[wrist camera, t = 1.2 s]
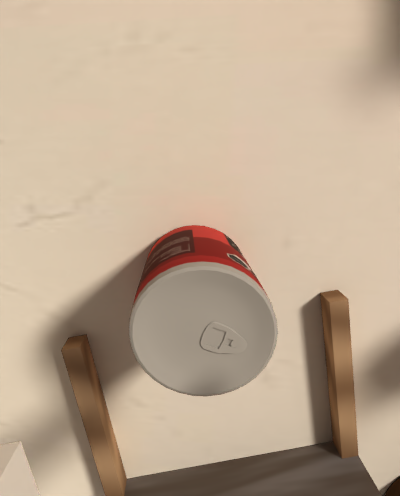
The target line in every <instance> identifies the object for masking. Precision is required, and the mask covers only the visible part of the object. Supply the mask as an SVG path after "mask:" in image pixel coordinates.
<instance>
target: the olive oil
mask: <svg viewBox="0 0 400 496" xmlns="http://www.w3.org/2000/svg"><path fill="white" fill-rule="evenodd" d="M385 496H400V478H399V479H398V480H396V481H395V482H394V483H393V484H392V485H391V486H390V488H389V489H388V490H387V492H386V494H385Z"/></svg>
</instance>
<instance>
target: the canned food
mask: <svg viewBox="0 0 400 496" xmlns="http://www.w3.org/2000/svg"><path fill="white" fill-rule="evenodd" d="M277 334H278V331H277V320H276V317H275V313H274V310H273V307H272V304H271V302H270V300H269V298H268V296H267V294H266V292H265V291H264V289H263V287H262V285H261V284H260V282H259V281H258V279H257V277H256V276H255V274H254V273H253V271H252V269H251V268H250V266H249V264H248V263H247V261H246V260H245V258H244V256H243V255H242V253H241V252H240V250H239V248H238V247H237V246H236V244H235V243H234V242H233V241H232V240H231V239H230V238H229V237H227V236H226V235H225V234H223V233H222V232H220V231H217V230H215V229H213V228H209V227H206V226H197V225H192V226H184V227H180V228H177V229H174V230H172V231H170V232H168V233H167V234H165V235H164V236H163V237H161V238H160V239H159V240H158V241H157V242H156V244H155V245H154V246H153V247H152V249H151V251H150V253H149V255H148V258H147V261H146V264H145V268H144V271H143V274H142V277H141V280H140V283H139V286H138V290H137V293H136V296H135V299H134V303H133V307H132V311H131V315H130V325H129V337H130V342H131V347H132V350H133V353H134V355H135V357H136V359H137V361H138V363H139V364H140V365H141V367H142V368H143V369H144V371H145V372H146V373H147V374H148V375H149V376H150V377H152V378H153V379H154V380H155V381H156V382H158V383H160V384H161V385H163V386H164V387H166V388H169V389H171V390H173V391H176V392H178V393H183V394H187V395H192V396H213V395H220V394H224V393H227V392H231V391H234V390H236V389H238V388H240V387H242V386H244V385H246V384H247V383H249V382H250V381H251V380H253V379H254V378H256V377H257V376H258V374H259V373H260V372H261V371H262V370H263V369H264V368H265V367H266V365H267V363H268V362H269V360H270V359H271V357H272V354H273V352H274V349H275V346H276V341H277Z"/></svg>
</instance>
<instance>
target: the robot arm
mask: <svg viewBox="0 0 400 496" xmlns="http://www.w3.org/2000/svg"><path fill="white" fill-rule="evenodd" d="M0 496H40V493H39V491H38V488H37V485H36V482H35V480H34V477H33V474H32V471H31V468H30V466H29V463H28V460H27V457H26V455H25V452H24V449H23V446H22V444H21V441H18V442H13V443H7V444H2V445H0Z"/></svg>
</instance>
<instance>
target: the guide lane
mask: <svg viewBox="0 0 400 496" xmlns="http://www.w3.org/2000/svg"><path fill="white" fill-rule="evenodd" d="M320 296H321V308H322V319H323V331H324V343H325V354H326V366H327V378H328V389H329V401H330V413H331V424H332V436H333V442H328V443H323V444H317V445H312V446H306V447H301V448H295V449H290V450H284V451H279V452H273V453H268V454H262V455H257V456H251V457H246V458H240V459H235V460H229V461H224V462H218V463H213V464H207V465H202V466H196V467H191V468H185V469H180V470H174V471H169V472H163V473H158V474H152V475H147V476H141V477H136V478H130V479H127V478H126V474H125V471H124V467H123V464H122V460H121V457H120V453H119V449H118V446H117V442H116V439H115V435H114V432H113V428H112V424H111V421H110V417H109V414H108V410H107V407H106V403H105V399H104V396H103V392H102V389H101V385H100V381H99V378H98V374H97V371H96V367H95V364H94V360H93V356H92V353H91V349H90V346H89V342H88V339H87V335H81V336H76V337H70V338H68V340H67V342H66V343H65V345H64V347H63V348H62V350H61V351H62V354H63V358H64V361H65V364H66V368H67V371H68V374H69V377H70V381H71V384H72V387H73V391H74V394H75V397H76V400H77V404H78V407H79V410H80V414H81V417H82V420H83V424H84V427H85V430H86V433H87V437H88V440H89V443H90V447H91V450H92V453H93V456H94V460H95V463H96V466H97V470H98V473H99V476H100V479H101V483H102V486H103V489H104V493H105V496H382V495H381V494H380V492H379V490H378V489H377V487H376V485H375V484H374V482H373V480H372V478H371V477H370V475H369V473H368V472H367V470H366V468H365V466H364V465H363V463H362V461H361V460H360V458H359V456H358V444H357V428H356V412H355V397H354V381H353V366H352V350H351V335H350V319H349V303H348V299H347V298H346V297H345V296H344V295H343V294H342V293H341V292H340V291H338V290H334V291H328V292H323V293H320Z"/></svg>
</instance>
